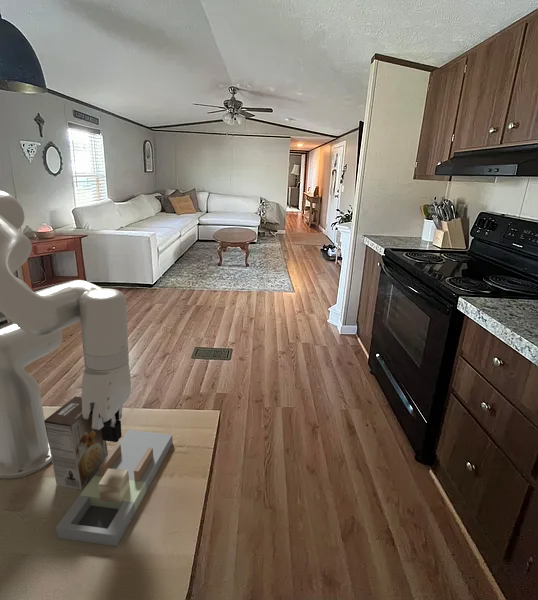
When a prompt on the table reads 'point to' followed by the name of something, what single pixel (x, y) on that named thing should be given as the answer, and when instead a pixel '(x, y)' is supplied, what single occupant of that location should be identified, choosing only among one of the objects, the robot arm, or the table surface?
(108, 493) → the cream block
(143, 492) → the recessed deck with rails
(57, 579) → the table surface
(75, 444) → the coffee box
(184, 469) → the table surface
